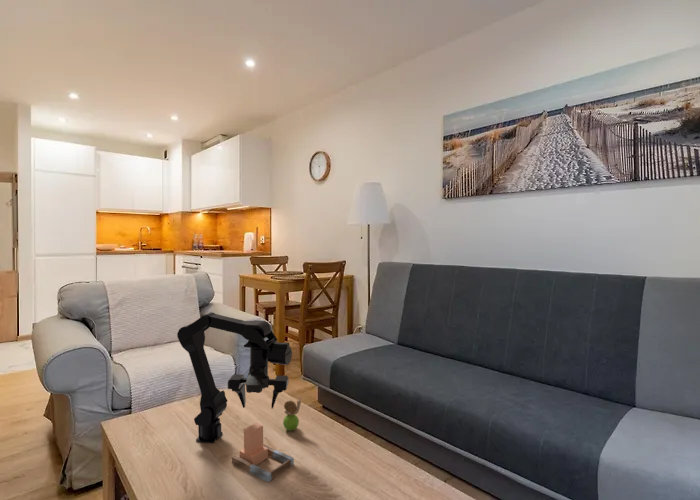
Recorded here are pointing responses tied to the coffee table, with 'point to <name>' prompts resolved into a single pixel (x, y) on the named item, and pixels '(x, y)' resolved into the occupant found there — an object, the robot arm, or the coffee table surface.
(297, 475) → the coffee table surface
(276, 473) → the beam slot
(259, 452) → the block
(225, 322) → the robot arm
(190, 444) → the coffee table surface
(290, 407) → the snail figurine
